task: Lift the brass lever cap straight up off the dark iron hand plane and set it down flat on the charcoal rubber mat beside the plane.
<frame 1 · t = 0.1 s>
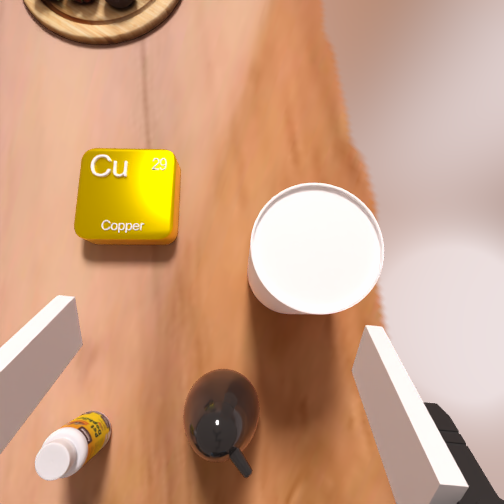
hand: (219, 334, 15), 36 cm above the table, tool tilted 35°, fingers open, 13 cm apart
element tile: (135, 202, 54), on the table
pump dispenser: (224, 400, 48), on the table
supplement bottle: (94, 429, 46), on the table
canister: (288, 271, 52), on the table
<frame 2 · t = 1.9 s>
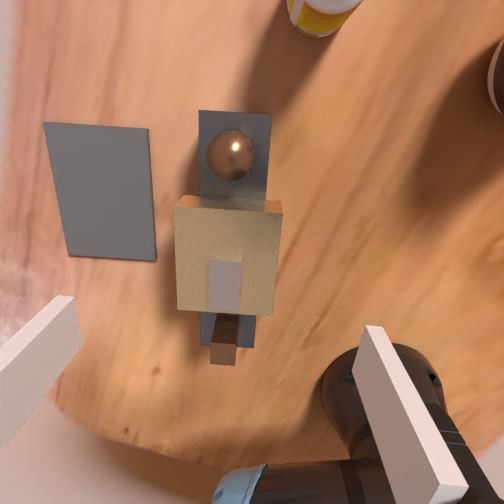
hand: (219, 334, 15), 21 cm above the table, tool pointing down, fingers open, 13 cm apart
lever cap: (230, 247, 28), point 7 cm above the table, touching plane body
supplement bottle: (317, 0, 27), on the table
plane body: (236, 222, 34), on the table
rubber mat: (106, 195, 34), on the table
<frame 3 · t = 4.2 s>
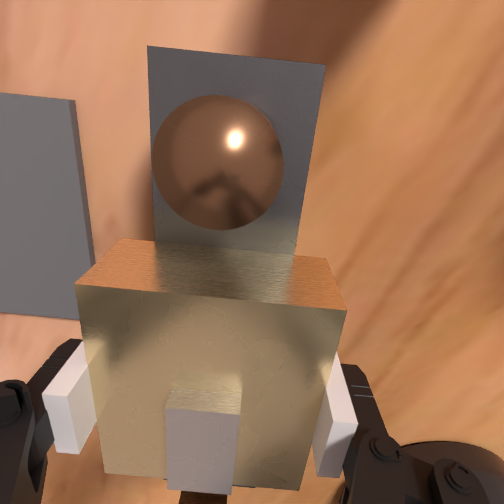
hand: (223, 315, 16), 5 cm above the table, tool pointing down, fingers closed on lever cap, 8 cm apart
lever cap: (218, 338, 14), point 7 cm above the table, touching gripper, plane body
plane body: (232, 267, 21), on the table
rubber mat: (9, 216, 20), on the table
when the fingers open (3 cm above the table, at t = 10.4 s): lever cap drops 4 cm, resting on rubber mat.
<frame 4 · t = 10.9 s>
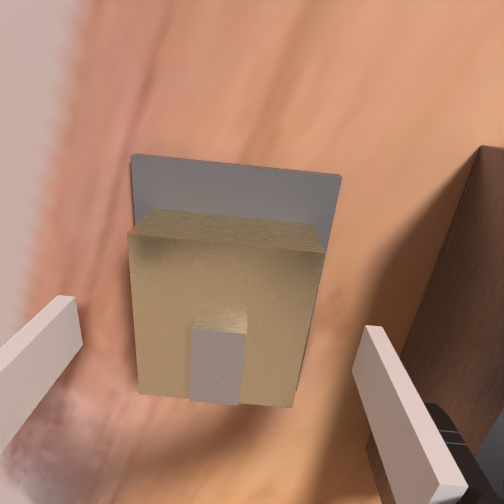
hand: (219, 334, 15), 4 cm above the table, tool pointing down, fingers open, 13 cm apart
lever cap: (227, 291, 18), point 1 cm above the table, touching rubber mat
plane body: (454, 337, 19), on the table
rubber mat: (228, 287, 18), on the table
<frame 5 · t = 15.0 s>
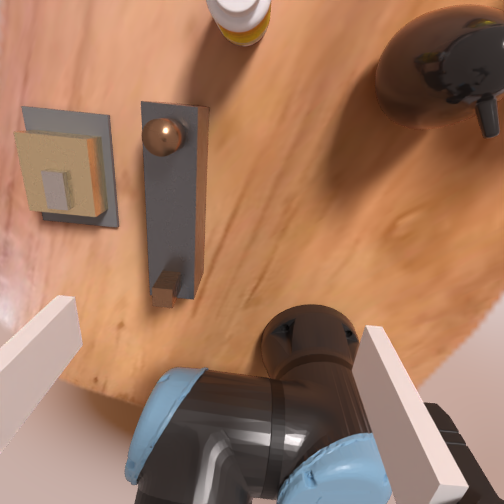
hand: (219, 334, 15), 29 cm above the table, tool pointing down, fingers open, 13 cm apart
pump dispenser: (410, 78, 35), on the table
lever cap: (73, 171, 40), point 1 cm above the table, touching rubber mat
supplement bottle: (243, 16, 33), on the table
plane body: (185, 197, 41), on the table
rubber mat: (75, 170, 40), on the table
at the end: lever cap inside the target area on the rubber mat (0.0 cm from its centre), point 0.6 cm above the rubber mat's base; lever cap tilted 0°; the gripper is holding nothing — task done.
